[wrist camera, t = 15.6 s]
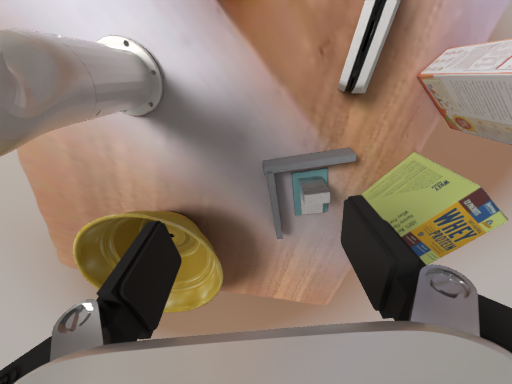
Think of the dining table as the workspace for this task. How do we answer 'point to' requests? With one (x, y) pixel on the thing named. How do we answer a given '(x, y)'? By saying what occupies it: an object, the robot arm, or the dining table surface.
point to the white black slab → (363, 63)
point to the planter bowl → (122, 236)
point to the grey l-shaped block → (313, 194)
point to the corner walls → (295, 164)
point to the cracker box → (474, 88)
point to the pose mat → (304, 174)
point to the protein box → (433, 207)
